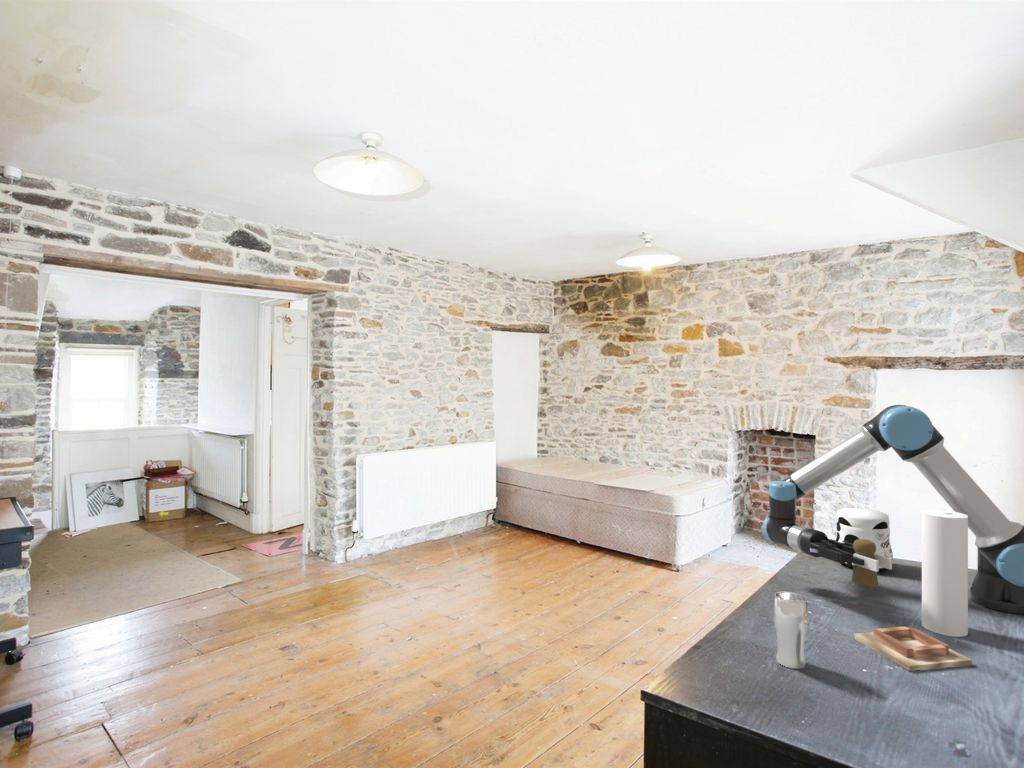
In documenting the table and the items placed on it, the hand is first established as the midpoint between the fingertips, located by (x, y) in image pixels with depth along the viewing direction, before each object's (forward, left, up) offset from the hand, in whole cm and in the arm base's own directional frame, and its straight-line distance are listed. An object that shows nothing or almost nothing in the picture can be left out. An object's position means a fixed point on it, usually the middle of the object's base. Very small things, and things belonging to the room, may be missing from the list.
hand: (884, 565), depth 144 cm
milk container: (-33, -45, -17) cm, 59 cm away
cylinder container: (-16, +2, -17) cm, 23 cm away
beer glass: (+34, +11, -17) cm, 39 cm away
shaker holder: (+3, +11, -17) cm, 20 cm away
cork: (+1, -5, -6) cm, 8 cm away
